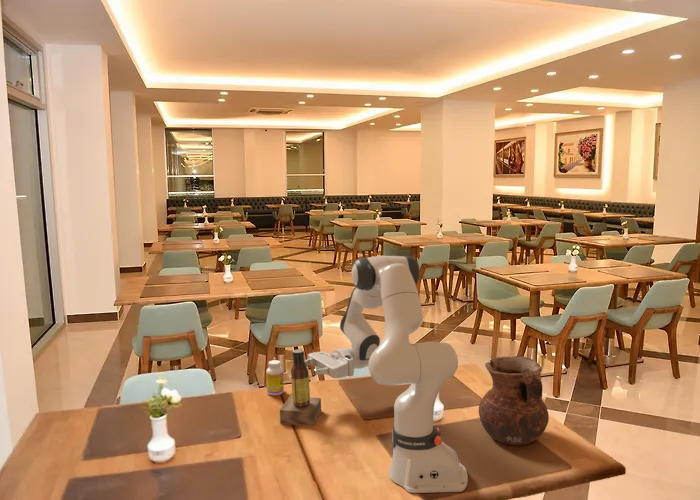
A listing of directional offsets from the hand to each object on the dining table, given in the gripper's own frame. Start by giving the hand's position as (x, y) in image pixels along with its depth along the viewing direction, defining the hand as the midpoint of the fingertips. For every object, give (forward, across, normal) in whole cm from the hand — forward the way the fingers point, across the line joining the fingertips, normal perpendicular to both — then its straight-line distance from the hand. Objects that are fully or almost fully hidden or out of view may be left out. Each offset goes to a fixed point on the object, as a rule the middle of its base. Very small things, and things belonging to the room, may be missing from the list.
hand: (308, 368), depth 194 cm
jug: (-48, +52, +18) cm, 73 cm away
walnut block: (+3, 0, +18) cm, 18 cm away
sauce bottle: (+3, 0, +13) cm, 13 cm away
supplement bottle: (+2, -26, +18) cm, 31 cm away
